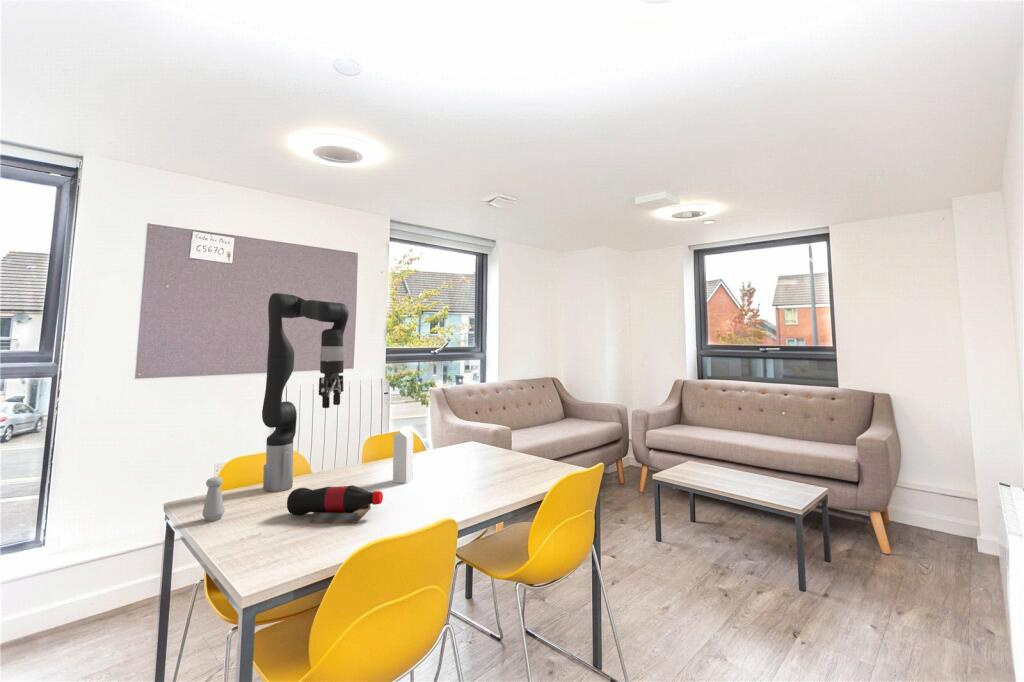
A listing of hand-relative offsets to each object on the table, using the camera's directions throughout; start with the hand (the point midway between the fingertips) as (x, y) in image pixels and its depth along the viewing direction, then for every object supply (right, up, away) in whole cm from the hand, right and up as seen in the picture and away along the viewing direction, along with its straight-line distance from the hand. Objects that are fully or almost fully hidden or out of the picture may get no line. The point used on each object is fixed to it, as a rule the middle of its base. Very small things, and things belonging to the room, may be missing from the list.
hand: (331, 406), depth 154 cm
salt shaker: (-32, -34, -14) cm, 48 cm away
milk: (+18, -35, +29) cm, 49 cm away
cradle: (+8, -34, -10) cm, 36 cm away
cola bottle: (-9, -30, -9) cm, 33 cm away
